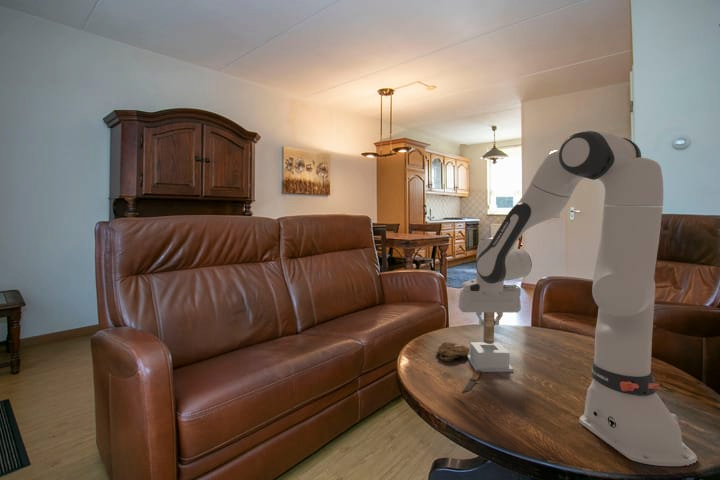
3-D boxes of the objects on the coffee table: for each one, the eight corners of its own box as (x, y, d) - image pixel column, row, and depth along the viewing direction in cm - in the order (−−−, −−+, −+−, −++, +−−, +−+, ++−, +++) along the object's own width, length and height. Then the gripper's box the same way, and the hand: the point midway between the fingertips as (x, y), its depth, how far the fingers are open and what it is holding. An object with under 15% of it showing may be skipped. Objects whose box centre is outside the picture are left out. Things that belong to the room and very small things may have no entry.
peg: (495, 343, 123) (495, 309, 122) (485, 343, 123) (485, 309, 123) (491, 340, 127) (492, 306, 126) (482, 340, 127) (482, 306, 126)
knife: (472, 392, 104) (461, 390, 105) (472, 396, 104) (461, 394, 105) (484, 371, 118) (475, 369, 120) (484, 374, 118) (475, 372, 120)
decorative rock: (466, 367, 124) (470, 353, 138) (467, 355, 124) (470, 343, 138) (432, 361, 128) (439, 348, 142) (433, 350, 128) (440, 338, 142)
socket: (513, 371, 119) (513, 353, 119) (476, 371, 119) (476, 353, 119) (500, 357, 131) (500, 341, 131) (466, 357, 131) (466, 341, 131)
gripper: (517, 283, 126) (516, 322, 127) (457, 283, 127) (457, 321, 128) (524, 286, 120) (523, 327, 121) (462, 286, 121) (461, 327, 122)
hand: (488, 324), depth 124 cm, fingers closed on peg, 3 cm apart
